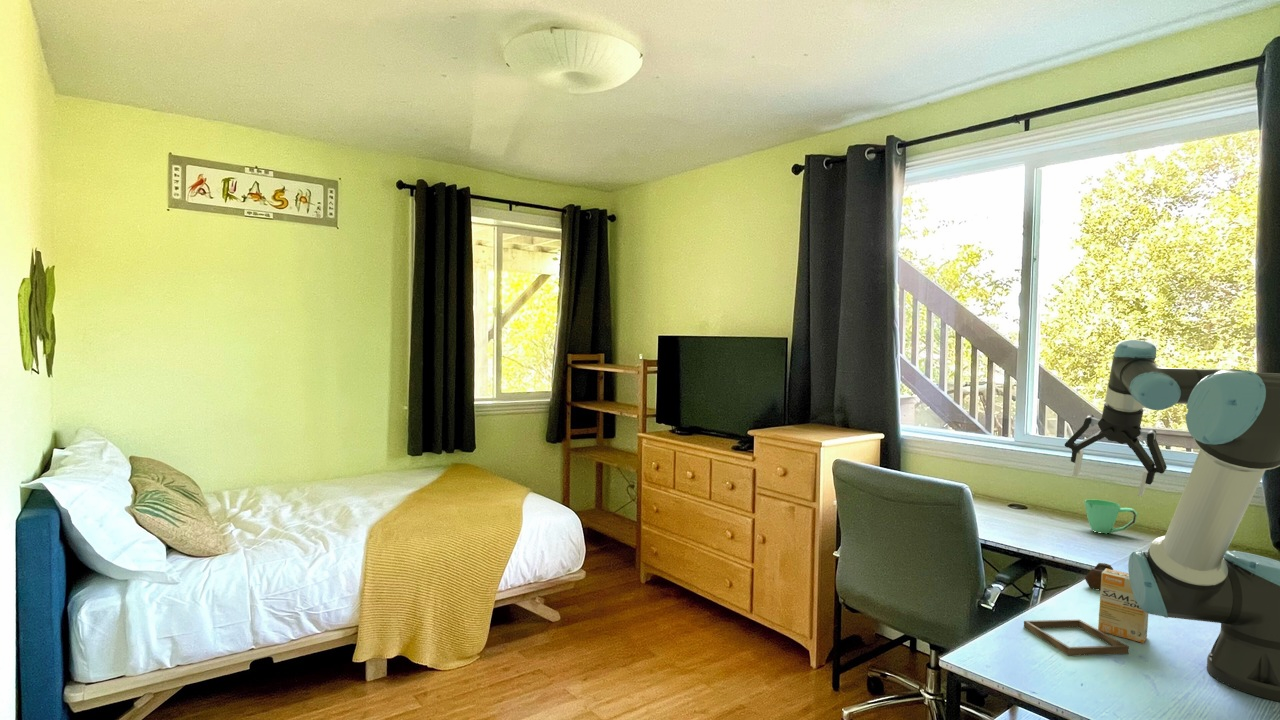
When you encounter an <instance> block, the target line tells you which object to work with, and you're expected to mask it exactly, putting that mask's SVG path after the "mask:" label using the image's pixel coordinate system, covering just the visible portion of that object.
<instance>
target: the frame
mask: <svg viewBox="0 0 1280 720" xmlns="http://www.w3.org/2000/svg"><path fill="white" fill-rule="evenodd" d="M1023 628H1024V629H1025V630H1027V631H1028V632H1030V633H1032V634H1034V635H1035V636H1037V637H1038V638H1040V639H1041V640H1043V641H1045V642H1046V643H1047V644H1049V645H1051V646H1053V647H1054V648H1055V649H1057V650H1059V651H1060V652H1062V653H1063V654H1065V655H1067V656H1068V657H1069V656H1074V657H1077V656H1078V657H1079V656H1102V655H1103V656H1106V655H1107V656H1108V655H1129V654H1130V646H1129V645H1127V644H1125V643H1124V642H1121V641H1119V640H1118V639H1116V638H1114V637H1113V636H1110V634H1108V633H1105V632H1101V631H1100V630H1098V628H1096V627H1094V626H1092V625H1091V624H1089V623H1086V622H1085V621H1083V620H1082V619H1049V620H1047V619H1043V620H1023ZM1066 628H1067V629H1069V628H1070V629H1072V628H1078V629H1081V630H1082V631H1084V632H1086V633H1088V634H1090V635H1091V636H1093V637H1095V638H1097V639H1098V640H1100V639H1101V640H1100V641H1103V642H1104V643H1106V644H1107V643H1108V644H1107V645H1093V646H1092V645H1090V646H1069V645H1067V644H1066V643H1064V642H1062V641H1060V640H1059V639H1057V638H1056V637H1054V636H1052V635H1051V634H1049V633H1047V632H1046V631H1044V630H1043V629H1066Z"/></svg>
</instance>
